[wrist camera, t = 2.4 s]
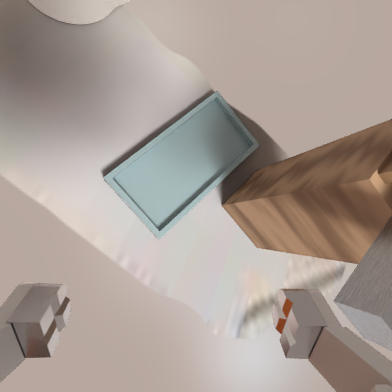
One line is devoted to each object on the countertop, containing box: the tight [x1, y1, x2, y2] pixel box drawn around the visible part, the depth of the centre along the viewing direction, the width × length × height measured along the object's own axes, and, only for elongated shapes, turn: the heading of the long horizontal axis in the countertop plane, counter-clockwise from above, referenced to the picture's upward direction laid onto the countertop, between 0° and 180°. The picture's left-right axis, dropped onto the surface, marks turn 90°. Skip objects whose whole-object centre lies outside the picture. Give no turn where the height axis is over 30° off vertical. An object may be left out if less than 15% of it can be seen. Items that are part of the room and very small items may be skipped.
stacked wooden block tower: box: [222, 119, 392, 264], centre depth 31 cm, size 10×10×28 cm
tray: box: [104, 91, 259, 239], centre depth 40 cm, size 24×12×2 cm, turn 132°
